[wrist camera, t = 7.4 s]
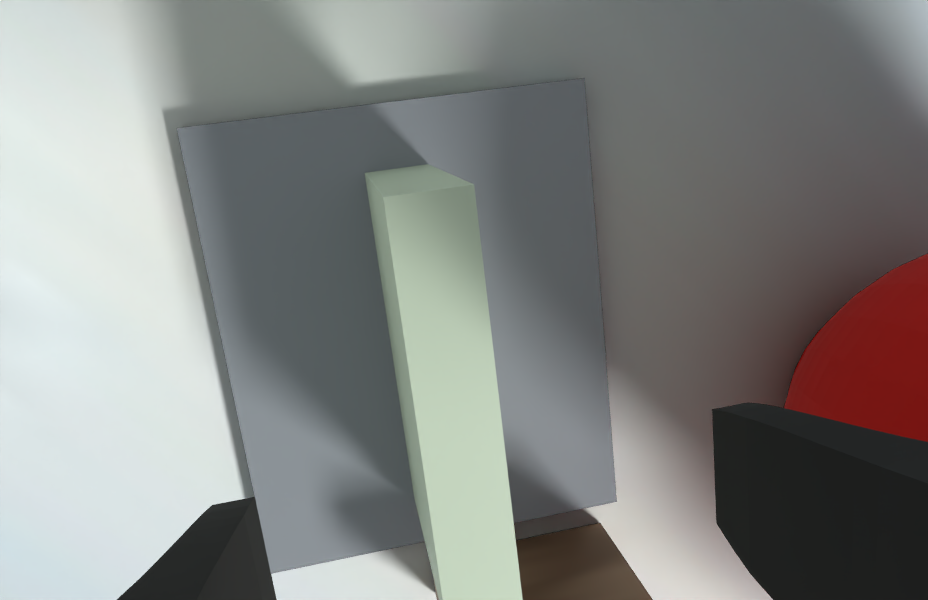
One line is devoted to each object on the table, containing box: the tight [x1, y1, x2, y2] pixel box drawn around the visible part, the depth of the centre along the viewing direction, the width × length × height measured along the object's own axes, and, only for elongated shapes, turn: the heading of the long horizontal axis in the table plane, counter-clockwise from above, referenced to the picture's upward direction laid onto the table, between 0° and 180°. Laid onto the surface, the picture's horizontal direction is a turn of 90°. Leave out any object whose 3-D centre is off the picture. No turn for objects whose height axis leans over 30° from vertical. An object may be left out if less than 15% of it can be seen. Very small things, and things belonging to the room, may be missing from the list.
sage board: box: [365, 164, 523, 600], centre depth 17 cm, size 2×9×6 cm, turn 7°
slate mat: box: [177, 78, 617, 574], centre depth 20 cm, size 10×12×1 cm
